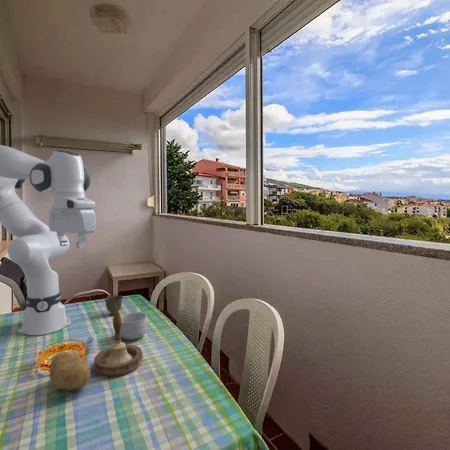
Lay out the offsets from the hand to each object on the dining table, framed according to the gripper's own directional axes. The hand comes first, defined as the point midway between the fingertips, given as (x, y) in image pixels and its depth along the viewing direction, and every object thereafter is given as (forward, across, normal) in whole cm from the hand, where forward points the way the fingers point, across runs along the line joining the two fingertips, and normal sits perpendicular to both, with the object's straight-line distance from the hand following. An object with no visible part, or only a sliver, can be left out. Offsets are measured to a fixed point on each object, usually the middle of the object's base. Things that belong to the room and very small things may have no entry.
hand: (71, 246), depth 95 cm
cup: (+37, -24, +33) cm, 55 cm away
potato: (+37, +12, -9) cm, 40 cm away
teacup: (+37, +1, +23) cm, 44 cm away
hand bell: (+36, +14, +5) cm, 39 cm away
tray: (+37, +14, +6) cm, 40 cm away
